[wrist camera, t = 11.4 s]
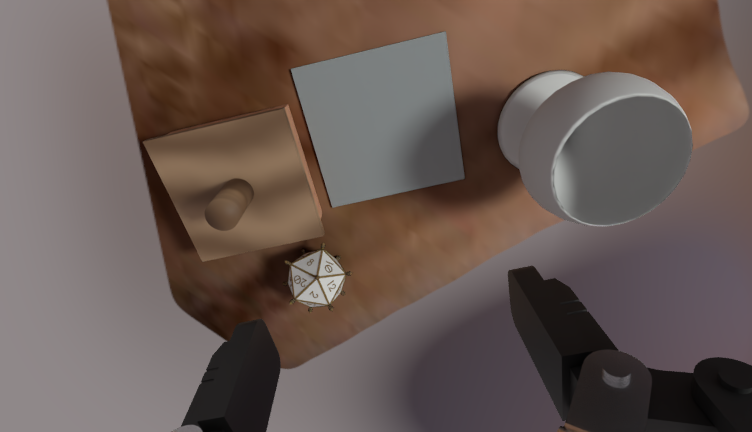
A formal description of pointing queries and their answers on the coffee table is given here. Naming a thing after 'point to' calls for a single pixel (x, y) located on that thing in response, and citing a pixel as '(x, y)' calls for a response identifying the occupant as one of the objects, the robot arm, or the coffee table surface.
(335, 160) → the mat
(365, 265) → the coffee table surface
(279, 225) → the lid
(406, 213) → the coffee table surface
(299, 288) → the game die
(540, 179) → the chalice
